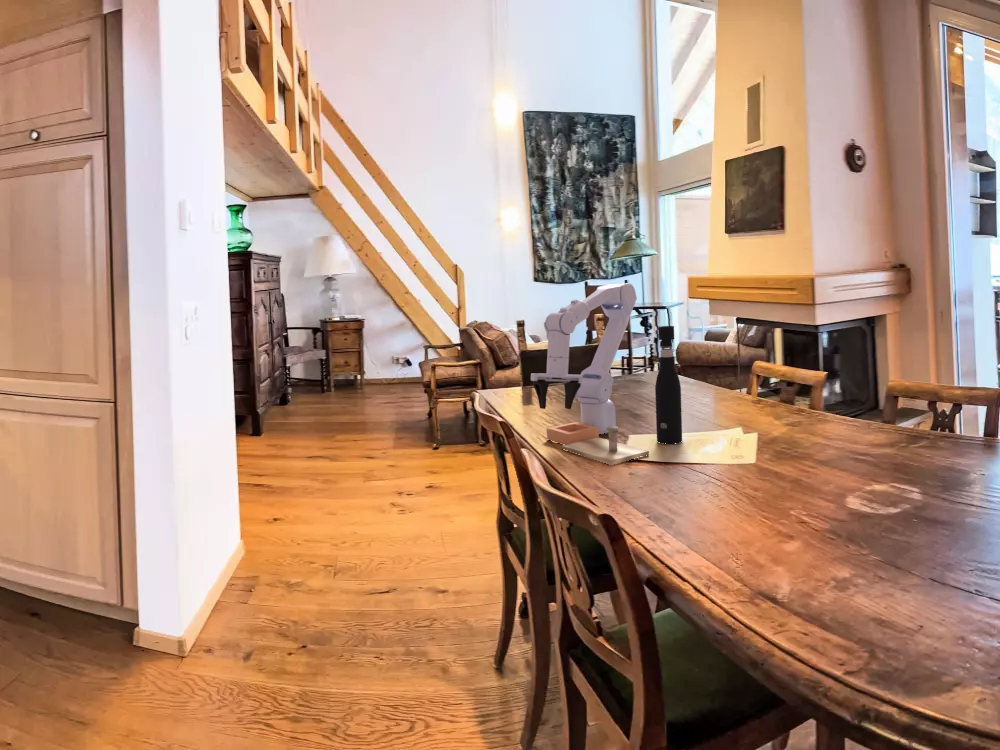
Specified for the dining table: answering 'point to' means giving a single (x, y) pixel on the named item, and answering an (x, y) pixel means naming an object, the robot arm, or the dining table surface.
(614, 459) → the thin beige base plate
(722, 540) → the dining table surface
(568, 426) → the pink square frame
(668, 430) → the black water bottle
